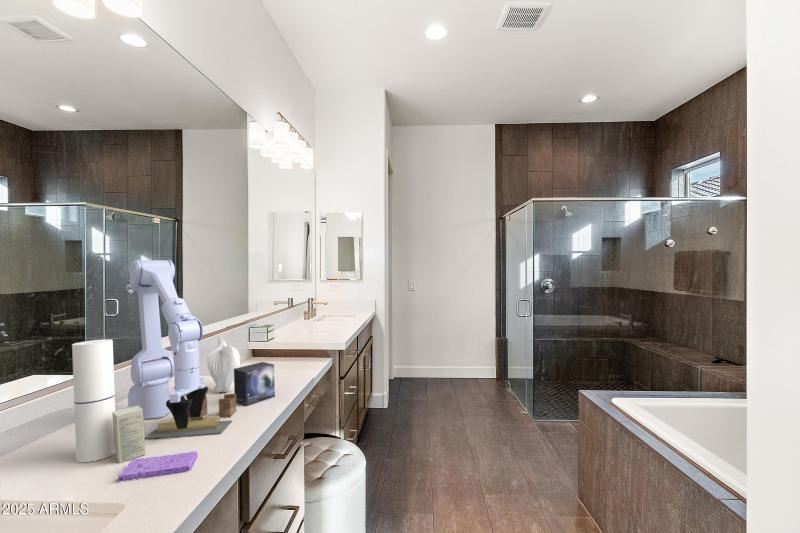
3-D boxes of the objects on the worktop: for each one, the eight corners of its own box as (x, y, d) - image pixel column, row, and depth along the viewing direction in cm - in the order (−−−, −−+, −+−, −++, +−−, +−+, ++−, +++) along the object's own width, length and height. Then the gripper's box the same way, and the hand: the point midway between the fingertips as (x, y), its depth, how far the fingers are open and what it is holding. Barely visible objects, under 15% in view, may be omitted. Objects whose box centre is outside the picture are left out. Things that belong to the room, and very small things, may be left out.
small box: (246, 407, 118) (244, 371, 118) (233, 403, 121) (232, 368, 122) (276, 396, 126) (274, 363, 126) (263, 393, 130) (262, 361, 130)
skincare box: (141, 449, 91) (139, 404, 91) (146, 455, 88) (144, 408, 88) (113, 457, 87) (111, 411, 87) (117, 463, 84) (115, 415, 84)
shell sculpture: (232, 394, 130) (230, 339, 131) (207, 396, 131) (204, 340, 131) (242, 387, 139) (240, 335, 139) (219, 388, 139) (216, 336, 139)
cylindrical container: (84, 465, 84) (80, 345, 84) (70, 458, 88) (66, 344, 88) (123, 451, 90) (118, 340, 90) (108, 445, 94) (104, 338, 94)
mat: (143, 439, 96) (143, 438, 96) (160, 427, 104) (160, 425, 104) (220, 433, 98) (220, 432, 98) (231, 421, 106) (231, 420, 106)
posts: (188, 420, 108) (188, 401, 108) (196, 414, 113) (195, 396, 113) (230, 417, 109) (230, 398, 109) (236, 411, 114) (235, 393, 114)
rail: (157, 433, 99) (157, 423, 99) (163, 429, 102) (162, 419, 102) (216, 428, 100) (215, 419, 100) (220, 424, 103) (219, 415, 103)
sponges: (132, 468, 83) (132, 459, 83) (199, 458, 86) (198, 449, 86) (117, 485, 76) (117, 475, 76) (190, 474, 79) (189, 464, 79)
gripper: (190, 374, 94) (193, 432, 94) (214, 360, 109) (216, 411, 109) (159, 376, 94) (161, 434, 94) (187, 362, 108) (189, 413, 108)
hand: (189, 422), depth 101 cm, fingers open, 7 cm apart
